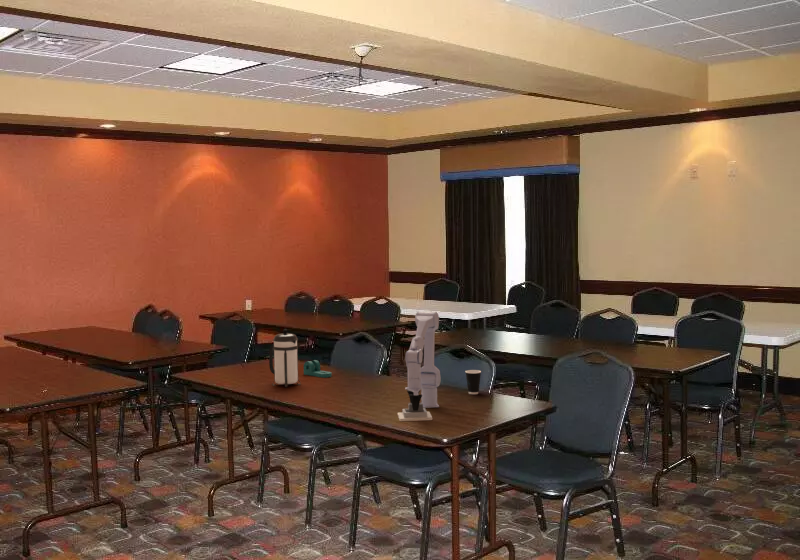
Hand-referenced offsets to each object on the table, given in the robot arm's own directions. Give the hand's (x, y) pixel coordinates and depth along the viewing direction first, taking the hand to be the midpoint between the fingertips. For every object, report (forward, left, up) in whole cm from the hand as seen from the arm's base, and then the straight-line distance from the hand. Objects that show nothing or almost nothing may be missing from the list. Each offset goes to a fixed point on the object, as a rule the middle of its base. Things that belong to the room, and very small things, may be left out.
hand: (414, 408), depth 353 cm
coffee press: (-83, -61, -4) cm, 103 cm away
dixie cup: (-46, +34, -4) cm, 57 cm away
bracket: (-108, -43, -4) cm, 116 cm away
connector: (0, 0, -3) cm, 3 cm away
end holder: (0, 0, -4) cm, 4 cm away
